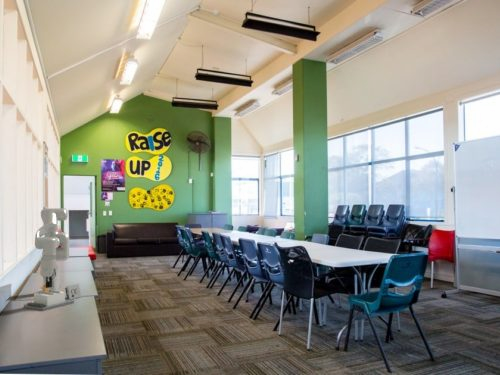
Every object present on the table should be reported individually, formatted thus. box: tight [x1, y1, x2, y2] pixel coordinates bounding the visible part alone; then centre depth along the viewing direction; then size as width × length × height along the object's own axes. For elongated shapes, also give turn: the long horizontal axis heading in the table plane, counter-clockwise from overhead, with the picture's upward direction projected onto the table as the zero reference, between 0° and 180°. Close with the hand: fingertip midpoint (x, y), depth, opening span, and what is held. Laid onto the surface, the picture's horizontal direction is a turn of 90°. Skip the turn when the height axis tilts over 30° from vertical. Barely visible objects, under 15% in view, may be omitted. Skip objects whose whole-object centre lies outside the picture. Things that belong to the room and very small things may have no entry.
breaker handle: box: [42, 283, 49, 292], centre depth 254 cm, size 2×3×5 cm, turn 152°
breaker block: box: [23, 290, 75, 312], centre depth 252 cm, size 19×21×9 cm
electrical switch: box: [64, 283, 82, 300], centre depth 270 cm, size 9×5×9 cm, turn 152°
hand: (48, 287), depth 253 cm, fingers closed
